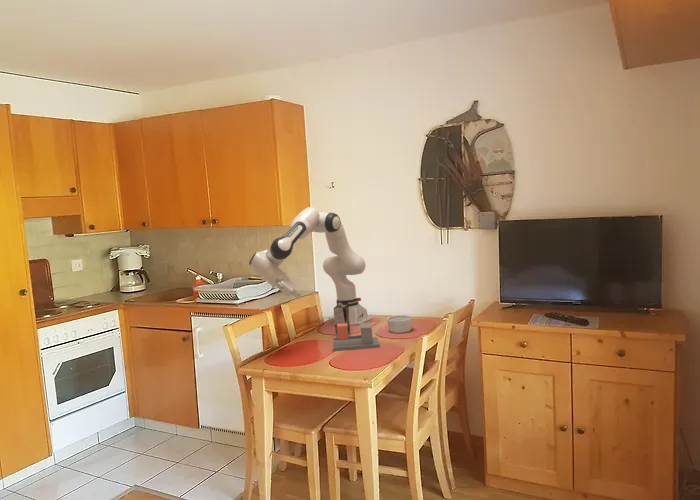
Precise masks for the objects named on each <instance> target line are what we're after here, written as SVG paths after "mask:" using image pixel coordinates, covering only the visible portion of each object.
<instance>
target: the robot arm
mask: <svg viewBox="0 0 700 500" xmlns="http://www.w3.org/2000/svg"><path fill="white" fill-rule="evenodd" d="M312 232H313V233H320V234H321V233H322V234H323V233H324V234H325V235H324V236H325V239H326V242H327V246H328V248H329V251H330V252H331V253H332V254H334V256H328V257H326V258H325V260H323V264H322V268H323V271H324V273H325V274H327V275H328V276H329V278H331V280H332V282H333V284H334V286H335V291H336V301H335V303H336V306H337V305H348V308H349V320H350V326H354V325H356V326H357V325H360V324H361V323H367V322H368V321H370V320H373V318H372V316H370V315H369V314H368V310H367V309H366V308H365V307H364V306H362V305H361V304H360V302H361V301H362V298H361V297H357V292H356V284H354V282H353V281H351V280H349V279H348V277H347V276H356V275H360V274H363V273H364V271H365V270H366V262H365V259H364V258H363V257H362V256H360V255H359V254H357V253H356V252H355V251H354V250H353V249H352V248H351V245H350V244H349V241H348V238H347V235H346V231H345V228H344V225H343V223H342V221H341V218H340V216H339V215H338V214H337V213H335V212H326V211H318V210H317V208H315V207H312V206H308V207H305V208H304V209H302V210H301V211H300V212H298V214H297V215H296V216H295V217H294V218H293V220H291V222H290V224H289V227H288V231H286V233H285V234H284V235H282V236H279V237H277V238H275V239H274V240H273V241H272V243H271V245H270V246H269V247H268V248H267V249H265V250H262V251H255V252H254V254H253V255H252V256H251V258H250V260H249V263H248V264H249V266H250V268H251V269H252V270H253V272H255V274H257V275H258V276H259V277H262V278H263V279H264V280H265V282H267V284H269V285H270V286H271V287H272V288H274V289H275V288H277V289H278V290H279V291H280V292H282V293H283V294H284V295H285V297H286V296H287V297H290V296H293V297H294V298H296V299H297V300H298V299H300V298H301V294H300V292H298V290H297V289H295V288H296V287H297V285H296V284H295V282H294V281H292V280H291V278H290V277H289V276H287V273H286V272H284V270H282V269H281V268H280V267H279V266H281V265H282V264H283V263H284V261H286V259H287V258H288V257H289V256H290V255H291V254H292V252H293V248H294V245H295V243H296V242H297V241H298V240H302V239H303V240H304V239H305V238H306V237H307V236H308V235H309V234H311V233H312Z"/></svg>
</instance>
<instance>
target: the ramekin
mask: <svg viewBox="0 0 700 500" xmlns="http://www.w3.org/2000/svg"><path fill="white" fill-rule="evenodd" d="M387 324H388V329H389V331H390V333H394V334H404V333H405V332H406V333H409V332H410V331H411V330H412V328H413V327H412V325H413V316H410V315H406V314H405V315H404V314H402V315H393V316H388V317H387Z"/></svg>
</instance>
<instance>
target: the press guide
mask: <svg viewBox="0 0 700 500" xmlns="http://www.w3.org/2000/svg"><path fill="white" fill-rule="evenodd" d="M359 325H360V334H354V335H349V336H348V340H339V341H338V337H336V336H333V337H332V348H333V349H332V351H333V352H339V351H341V352H342V351H351V350H362V349H375V348H377V349H378V348H380V347H381V346H380V341H379V337H377V336H374V337H373V327H372V324H371V322H364V323H361V324H359Z"/></svg>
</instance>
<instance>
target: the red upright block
mask: <svg viewBox="0 0 700 500" xmlns="http://www.w3.org/2000/svg"><path fill="white" fill-rule="evenodd" d="M337 333H338V341H339V340H348V327H347V323H342V324H337Z"/></svg>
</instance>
